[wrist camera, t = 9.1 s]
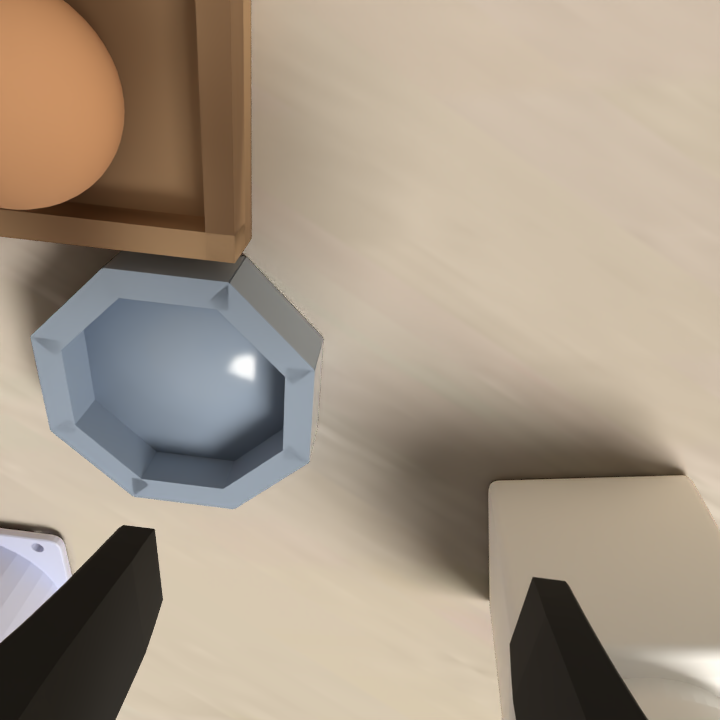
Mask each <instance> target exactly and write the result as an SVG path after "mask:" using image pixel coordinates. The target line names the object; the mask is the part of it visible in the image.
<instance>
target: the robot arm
mask: <svg viewBox="0 0 720 720" xmlns="http://www.w3.org/2000/svg"><path fill="white" fill-rule="evenodd" d="M162 601H163V596H162V588H161V579H160V571H159V562H158V553H157V545H156V536H155V529H150V528H142V527H134V526H127V525H123V526H121V527H120V528H118V529H117V530H116V532H115V533H114V534H113V535H112V536H111V537H110V538H109V539H108V540H107V541H106V542H105V543H104V544H103V545H102V546H101V547H100V548H99V549H98V550H97V551H96V552H95V553H94V554H93V555H92V556H91V557H90V558H89V559H88V560H87V561H86V562H85V563H84V564H83V565H82V566H81V567H80V568H79V569H78V570H77V571H76V572H75V573H74V574H73V575H72V574H71V569H70V565H69V560H68V556H67V552H66V547H65V544H64V542H63V540H62V539H61V538H60V537H58V536H56V535H52V534H44V533H36V532H28V531H20V530H12V529H5V528H0V720H116V717H117V715H118V713H119V711H120V709H121V706H122V704H123V702H124V700H125V698H126V695H127V693H128V691H129V689H130V687H131V684H132V682H133V680H134V678H135V675H136V673H137V671H138V669H139V666H140V664H141V662H142V660H143V657H144V655H145V653H146V650H147V647H148V644H149V641H150V638H151V635H152V632H153V629H154V626H155V623H156V620H157V617H158V613H159V610H160V607H161V604H162ZM509 645H510V664H511V681H512V695H513V705H514V711H515V717H516V720H648V719H647V717H646V716H645V714H644V713H643V711H642V710H641V708H640V706H639V705H638V703H637V702H636V700H635V698H634V697H633V695H632V694H631V692H630V690H629V689H628V687H627V686H626V684H625V682H624V681H623V679H622V678H621V676H620V674H619V673H618V671H617V670H616V668H615V666H614V665H613V663H612V661H611V659H610V658H609V656H608V654H607V653H606V651H605V649H604V648H603V646H602V644H601V642H600V641H599V639H598V637H597V635H596V634H595V632H594V630H593V628H592V627H591V625H590V623H589V621H588V619H587V618H586V616H585V614H584V612H583V610H582V609H581V607H580V605H579V603H578V601H577V599H576V597H575V596H574V594H573V592H572V590H571V588H570V586H569V585H568V584H567V582H566V581H562V580H554V579H546V578H538V577H532V580H531V583H530V586H529V589H528V592H527V595H526V598H525V600H524V603H523V606H522V609H521V612H520V615H519V618H518V621H517V624H516V627H515V630H514V633H513V635H512V638H511V641H510V644H509Z"/></svg>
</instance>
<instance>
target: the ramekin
mask: <svg viewBox="0 0 720 720" xmlns="http://www.w3.org/2000/svg"><path fill="white" fill-rule="evenodd" d="M323 340H324V339H323V337H322V336H321V335H320V334H319V333H318V332H317V331H316V330H315V329H314V328H313V327H312V326H311V325H310V324H309V322H308V321H307V320H306V319H305V318H304V317H303V316H302V315H301V314H300V313H299V312H298V311H297V310H296V309H295V308H294V307H293V306H292V305H291V303H290V302H289V301H288V300H287V299H286V298H285V297H284V296H283V295H282V294H281V293H280V292H279V291H278V290H277V289H276V288H275V287H274V285H273V284H272V283H271V282H270V281H269V280H268V279H267V278H266V277H265V276H264V275H263V274H262V273H261V272H260V271H259V270H258V269H257V268H256V266H255V265H254V264H253V263H252V262H251V261H250V260H249V259H248V258H247V257H246V258H245V256H240V257H239V258H238V260H237V261H236V263H227V262H218V261H209V260H201V259H192V258H183V257H174V256H166V255H157V254H148V253H140V252H131V251H121V252H120V253H119V254H117V255H116V256H115V257H114V258H113V259H112V260H111V261H110V262H108V263H107V264H106V265H105V266H104V267H103V268H102V269H101V270H99V271H98V272H97V273H96V274H95V275H94V276H93V277H92V278H91V279H90V280H89V281H88V282H87V283H86V284H85V285H84V286H83V287H82V288H81V289H80V290H78V291H77V292H76V293H75V294H74V295H73V296H72V297H71V298H70V299H69V300H68V301H67V302H66V303H65V304H64V305H63V306H62V307H61V308H60V309H58V310H57V311H56V312H55V313H54V314H53V315H52V316H51V317H50V318H49V319H48V320H47V321H46V322H45V323H44V324H43V325H42V326H41V327H40V328H38V329H37V330H36V331H35V332H34V333H33V334H32V335H31V342H32V347H33V352H34V356H35V361H36V366H37V370H38V375H39V380H40V384H41V389H42V394H43V398H44V403H45V408H46V413H47V417H48V422H49V427H50V430H51V432H53V433H54V434H55V435H56V436H58V437H59V438H60V439H61V440H63V441H64V442H65V443H67V444H68V445H69V446H70V447H72V448H73V449H74V450H75V451H77V452H78V453H79V454H80V455H82V456H83V457H84V458H85V459H87V460H88V461H89V462H90V463H92V464H93V465H94V466H95V467H97V468H98V469H99V470H100V471H102V472H103V473H104V474H106V475H107V476H108V477H109V478H111V479H112V480H113V481H114V482H116V483H117V484H118V485H119V486H121V487H122V488H123V489H124V490H126V491H127V492H128V493H129V494H131V495H132V496H134V497H140V498H148V499H156V500H164V501H172V502H180V503H188V504H196V505H204V506H212V507H220V508H228V509H235V508H237V507H239V506H240V505H242V504H243V503H245V502H247V501H248V500H250V499H252V498H253V497H255V496H256V495H258V494H260V493H261V492H263V491H264V490H266V489H268V488H269V487H271V486H272V485H274V484H276V483H277V482H279V481H280V480H282V479H284V478H285V477H287V476H288V475H290V474H292V473H293V472H295V471H297V470H298V469H300V468H301V467H303V466H305V465H306V464H308V463H309V462H310V457H311V453H312V449H313V444H314V440H315V436H316V432H317V427H318V416H319V401H320V386H321V370H322V355H323Z"/></svg>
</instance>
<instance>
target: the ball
mask: <svg viewBox="0 0 720 720" xmlns="http://www.w3.org/2000/svg"><path fill="white" fill-rule="evenodd" d="M124 114H125V110H124V97H123V91H122V86H121V82H120V79H119V76H118V72H117V70H116V67H115V65H114V62H113V60H112V58H111V56H110V54H109V52H108V50H107V49H106V47H105V45H104V43H103V42H102V41H101V39H100V38H99V36H98V35H97V33H96V32H95V31H94V30H93V28H92V27H91V26H90V25H89V24H88V23H87V21H86V20H85V19H84V18H83V17H82V16H81V15H80V14H79V13H78V12H77V11H75V10H74V9H73V8H72V7H71V6H70V5H69V4H68V3H66V2H65V1H64V0H0V208H5V209H15V210H30V209H37V208H44V207H50V206H53V205H57V204H60V203H63V202H65V201H67V200H69V199H72V198H74V197H76V196H78V195H79V194H81V193H82V192H84V191H85V190H87V189H88V188H89V187H91V186H92V185H93V184H94V183H95V182H96V181H97V180H98V179H99V178H100V177H101V176H102V175H103V174H104V172H105V171H106V170H107V168H108V167H109V165H110V164H111V162H112V160H113V158H114V156H115V155H116V153H117V150H118V147H119V144H120V142H121V137H122V132H123V127H124Z"/></svg>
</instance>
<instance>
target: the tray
mask: <svg viewBox="0 0 720 720" xmlns="http://www.w3.org/2000/svg"><path fill="white" fill-rule="evenodd" d="M64 1H65V2H66V3H68V4H69V5H70V6H71V7H72V8H73V9H74V10H75V11H77V12H78V13H79V14H80V15H81V16H82V17H83V18H84V19H85V20H86V21H87V23H88V24H89V25H90V26H91V27H92V28H93V30H94V31H95V32H96V33H97V35H98V36H99V38H100V39H101V41H102V42H103V43H104V45H105V47H106V49H107V50H108V52H109V54H110V56H111V58H112V60H113V62H114V65H115V67H116V70H117V72H118V76H119V79H120V82H121V86H122V91H123V97H124V110H125V114H124V127H123V132H122V137H121V142H120V144H119V147H118V150H117V153H116V155H115V156H114V158H113V160H112V162H111V164H110V165H109V167H108V168H107V170H106V171H105V172H104V174H103V175H102V176H101V177H100V178H99V179H98V180H97V181H96V182H95V183H94V184H93V185H92V186H91V187H89V188H88V189H87V190H85V191H84V192H82V193H81V194H79V195H78V196H76V197H74V198H72V199H69V200H67V201H65V202H63V203H60V204H57V205H53V206H50V207H44V208H37V209H30V210H15V209H5V208H0V236H1V237H9V238H18V239H27V240H35V241H44V242H53V243H61V244H70V245H79V246H88V247H96V248H105V249H114V250H122V251H131V252H140V253H148V254H157V255H166V256H174V257H183V258H192V259H201V260H209V261H218V262H227V263H236V261H237V260H238V258H239V257H240V255H241V254H242V252H243V251H244V249H245V248H246V246H247V245H248V243H249V242H250V240H251V239H252V215H251V0H64Z"/></svg>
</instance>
